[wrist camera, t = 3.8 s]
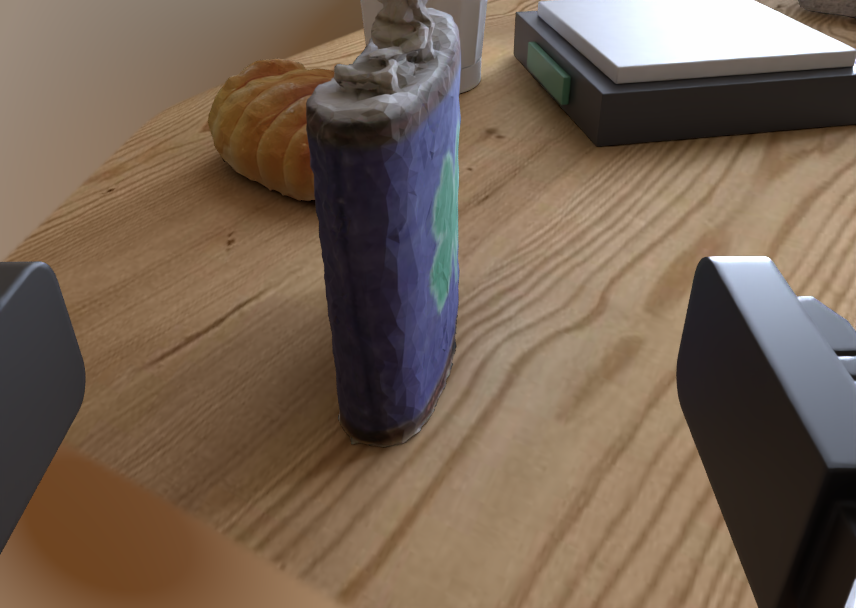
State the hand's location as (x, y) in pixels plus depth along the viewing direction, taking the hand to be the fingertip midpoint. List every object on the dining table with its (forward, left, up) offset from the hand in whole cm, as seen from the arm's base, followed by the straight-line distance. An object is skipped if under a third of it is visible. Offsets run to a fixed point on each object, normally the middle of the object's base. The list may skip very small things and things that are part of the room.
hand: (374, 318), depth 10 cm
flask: (+2, +11, -9) cm, 15 cm away
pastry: (0, +25, -9) cm, 27 cm away
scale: (+20, +31, -9) cm, 38 cm away
